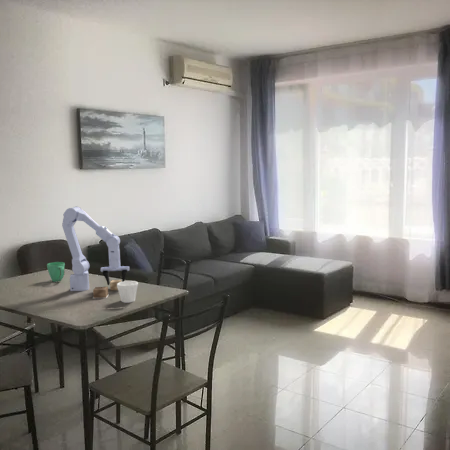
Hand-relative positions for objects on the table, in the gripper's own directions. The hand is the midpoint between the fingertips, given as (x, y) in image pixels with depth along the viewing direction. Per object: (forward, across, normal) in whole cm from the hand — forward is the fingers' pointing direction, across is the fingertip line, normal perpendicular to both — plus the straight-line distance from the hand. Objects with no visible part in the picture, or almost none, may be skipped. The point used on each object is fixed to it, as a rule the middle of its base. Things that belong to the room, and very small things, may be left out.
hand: (116, 284), depth 268 cm
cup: (+3, +10, -24) cm, 26 cm away
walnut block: (+2, -5, -14) cm, 15 cm away
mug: (+3, -37, +25) cm, 45 cm away
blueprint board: (+3, -2, -11) cm, 12 cm away
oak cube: (+3, 0, 0) cm, 3 cm away
